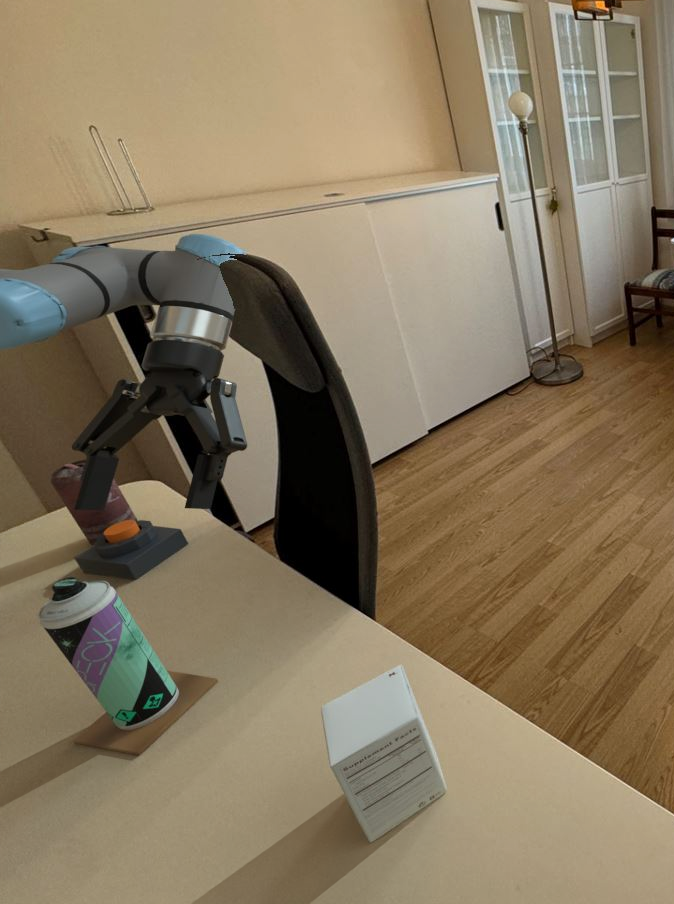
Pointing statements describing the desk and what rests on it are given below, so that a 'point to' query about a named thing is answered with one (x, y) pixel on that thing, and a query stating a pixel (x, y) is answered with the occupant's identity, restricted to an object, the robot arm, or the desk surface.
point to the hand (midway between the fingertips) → (143, 509)
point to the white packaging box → (382, 752)
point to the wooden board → (141, 738)
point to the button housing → (132, 552)
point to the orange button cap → (121, 531)
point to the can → (90, 520)
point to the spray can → (108, 651)
